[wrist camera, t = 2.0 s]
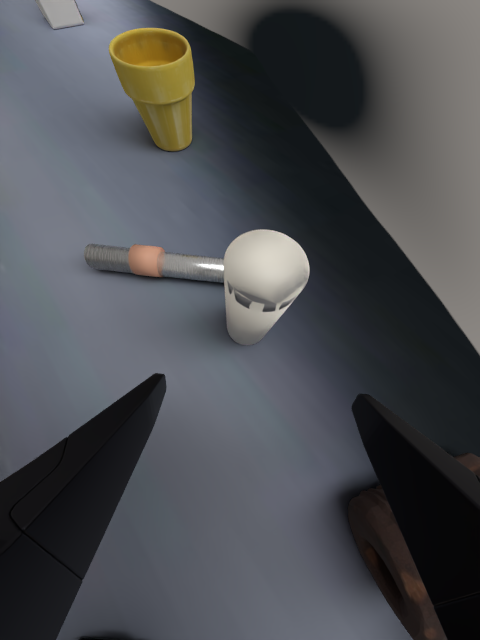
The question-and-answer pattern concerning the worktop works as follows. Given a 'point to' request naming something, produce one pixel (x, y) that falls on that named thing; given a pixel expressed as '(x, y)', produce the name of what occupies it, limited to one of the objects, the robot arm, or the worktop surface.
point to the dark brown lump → (396, 559)
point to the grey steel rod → (154, 262)
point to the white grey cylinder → (261, 282)
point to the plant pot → (158, 82)
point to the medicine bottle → (60, 13)
